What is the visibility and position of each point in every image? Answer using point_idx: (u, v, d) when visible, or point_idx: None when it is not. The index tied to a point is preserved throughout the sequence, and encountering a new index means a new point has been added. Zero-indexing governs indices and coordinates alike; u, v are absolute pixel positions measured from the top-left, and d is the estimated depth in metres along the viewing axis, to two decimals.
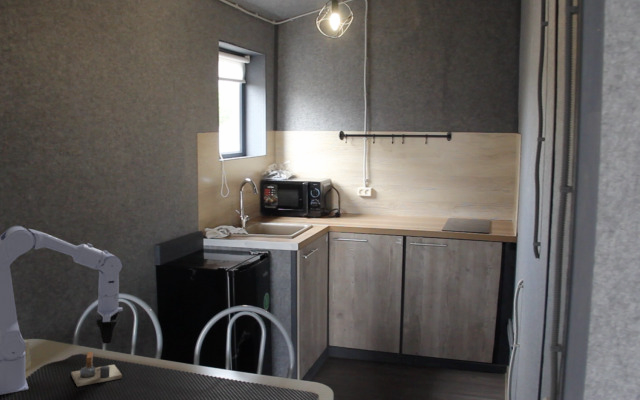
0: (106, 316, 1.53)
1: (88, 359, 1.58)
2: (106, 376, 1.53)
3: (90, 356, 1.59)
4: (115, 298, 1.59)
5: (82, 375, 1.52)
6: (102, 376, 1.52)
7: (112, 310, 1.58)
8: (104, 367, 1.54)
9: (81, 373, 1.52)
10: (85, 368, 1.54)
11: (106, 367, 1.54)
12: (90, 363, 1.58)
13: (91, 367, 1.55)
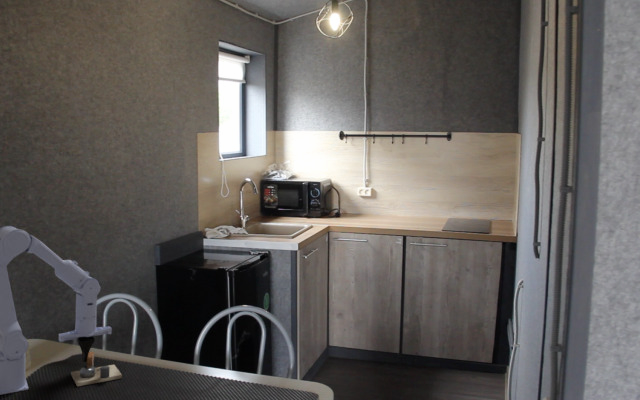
0: (59, 335, 1.55)
1: (89, 359, 1.58)
2: (106, 376, 1.53)
3: (91, 356, 1.59)
4: (81, 321, 1.57)
5: (82, 375, 1.52)
6: (102, 376, 1.52)
7: (77, 333, 1.57)
8: (104, 367, 1.54)
9: (81, 373, 1.52)
10: (85, 368, 1.54)
11: (106, 367, 1.54)
12: (91, 363, 1.58)
13: (91, 367, 1.55)
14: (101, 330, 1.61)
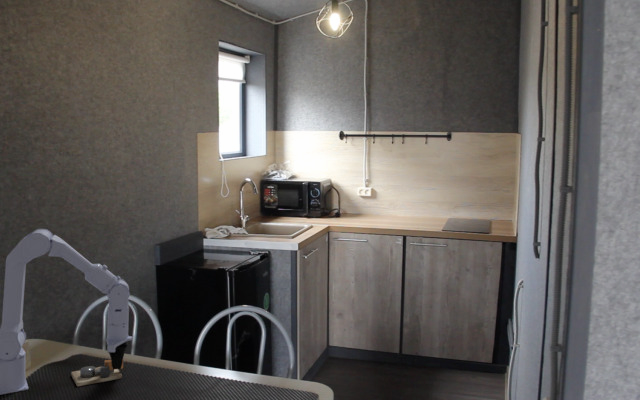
0: (111, 346, 1.48)
1: None
2: (106, 376, 1.53)
3: (108, 361, 1.56)
4: (123, 327, 1.53)
5: None
6: (102, 376, 1.52)
7: (120, 339, 1.53)
8: (104, 367, 1.54)
9: None
10: (89, 367, 1.54)
11: (106, 367, 1.54)
12: None
13: (90, 369, 1.53)
14: None
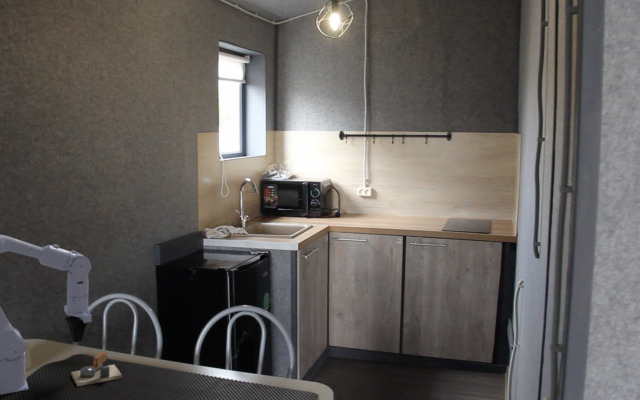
0: (88, 316, 1.51)
1: (95, 359, 1.58)
2: (106, 376, 1.53)
3: (98, 356, 1.59)
4: (87, 298, 1.56)
5: (80, 374, 1.52)
6: (102, 376, 1.52)
7: (85, 311, 1.55)
8: (104, 367, 1.54)
9: (80, 372, 1.53)
10: (86, 368, 1.54)
11: (106, 367, 1.54)
12: (97, 363, 1.58)
13: (92, 368, 1.54)
14: None
